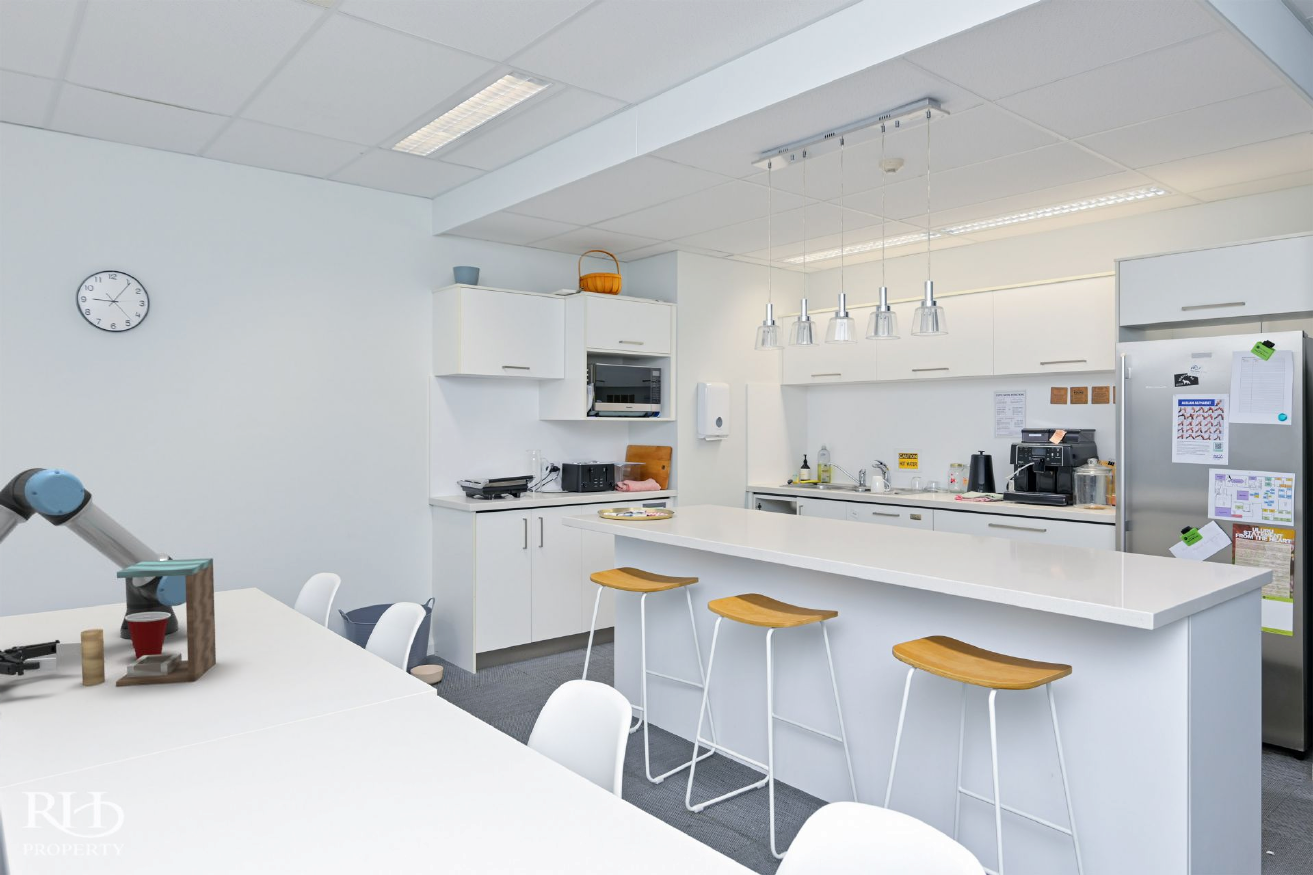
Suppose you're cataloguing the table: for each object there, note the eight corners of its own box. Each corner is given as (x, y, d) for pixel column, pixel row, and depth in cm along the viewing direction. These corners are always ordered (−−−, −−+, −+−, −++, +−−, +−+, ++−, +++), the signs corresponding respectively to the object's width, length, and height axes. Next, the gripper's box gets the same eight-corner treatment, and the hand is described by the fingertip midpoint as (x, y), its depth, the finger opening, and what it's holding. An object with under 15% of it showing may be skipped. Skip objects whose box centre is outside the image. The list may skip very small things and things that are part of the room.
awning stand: (142, 667, 215) (139, 561, 214) (215, 662, 218) (212, 558, 217) (116, 686, 200) (112, 572, 199) (194, 681, 204) (191, 568, 203)
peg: (88, 680, 205) (86, 629, 205) (108, 678, 206) (106, 628, 206) (78, 686, 201) (77, 634, 200) (99, 684, 202) (97, 633, 201)
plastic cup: (177, 656, 224) (176, 613, 224) (132, 666, 216) (130, 622, 216) (165, 648, 232) (164, 607, 231) (121, 657, 224) (119, 614, 223)
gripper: (6, 660, 210) (96, 655, 214) (-60, 693, 186) (43, 686, 190) (5, 631, 210) (95, 627, 214) (-62, 661, 186) (42, 655, 189)
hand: (71, 655), depth 202 cm, fingers open, 13 cm apart
